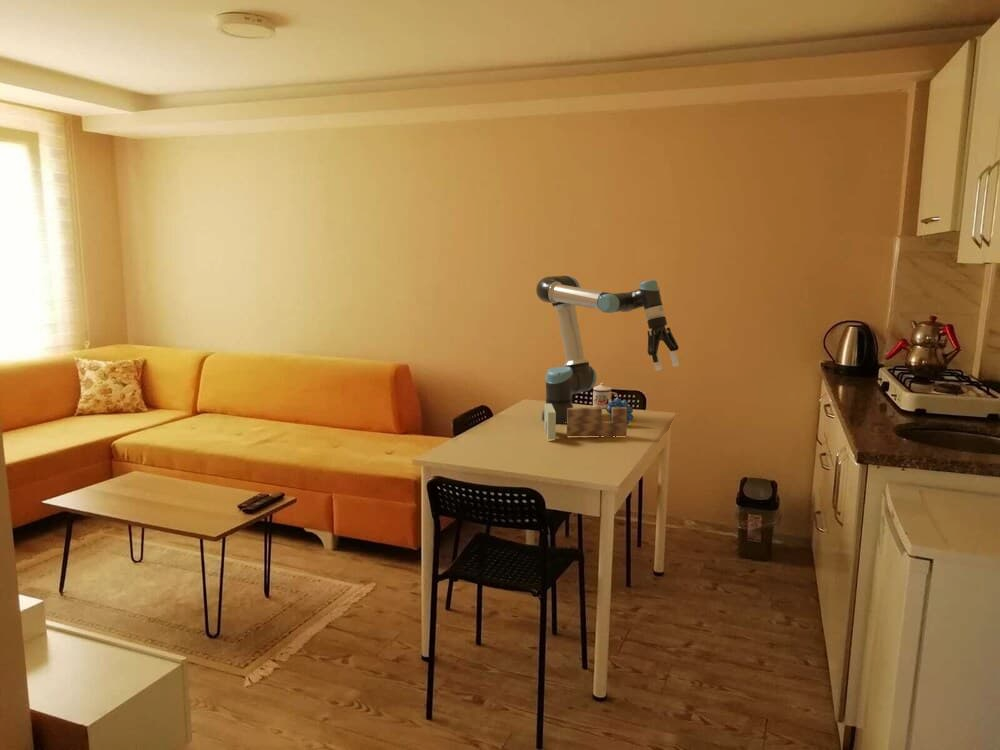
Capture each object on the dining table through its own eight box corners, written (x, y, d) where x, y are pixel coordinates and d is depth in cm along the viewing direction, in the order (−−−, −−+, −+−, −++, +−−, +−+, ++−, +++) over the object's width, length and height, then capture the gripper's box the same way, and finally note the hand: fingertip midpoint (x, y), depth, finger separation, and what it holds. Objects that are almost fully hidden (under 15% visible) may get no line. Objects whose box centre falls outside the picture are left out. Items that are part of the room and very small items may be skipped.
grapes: (604, 426, 314) (605, 399, 312) (607, 422, 321) (608, 396, 319) (631, 428, 311) (632, 401, 308) (633, 424, 317) (634, 397, 315)
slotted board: (567, 438, 296) (568, 409, 293) (566, 436, 299) (567, 407, 296) (626, 437, 296) (627, 408, 294) (624, 435, 299) (625, 407, 297)
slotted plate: (544, 431, 307) (544, 403, 304) (551, 431, 307) (551, 403, 305) (548, 441, 291) (548, 412, 289) (555, 441, 291) (555, 412, 289)
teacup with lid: (591, 408, 349) (592, 384, 347) (593, 404, 357) (593, 381, 355) (616, 409, 346) (617, 385, 344) (618, 405, 355) (618, 381, 353)
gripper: (647, 317, 287) (659, 370, 286) (679, 313, 304) (690, 363, 304) (631, 322, 292) (643, 373, 291) (664, 318, 310) (675, 366, 309)
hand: (667, 368), depth 297 cm, fingers open, 13 cm apart
